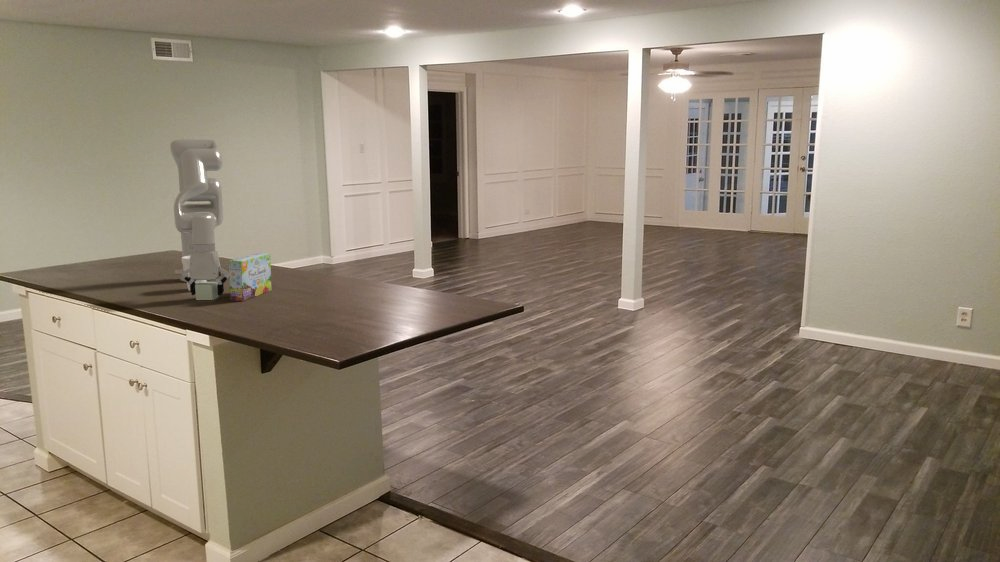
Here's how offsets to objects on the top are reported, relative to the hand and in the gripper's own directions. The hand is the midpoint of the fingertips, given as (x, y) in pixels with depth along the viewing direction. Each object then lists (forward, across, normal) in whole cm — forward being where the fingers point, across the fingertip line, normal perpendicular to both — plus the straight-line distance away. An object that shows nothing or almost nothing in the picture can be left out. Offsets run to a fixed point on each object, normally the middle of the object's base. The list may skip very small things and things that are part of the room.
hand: (207, 294), depth 273 cm
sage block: (+2, 0, 0) cm, 2 cm away
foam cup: (+2, -11, +17) cm, 20 cm away
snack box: (+2, +14, +7) cm, 16 cm away
